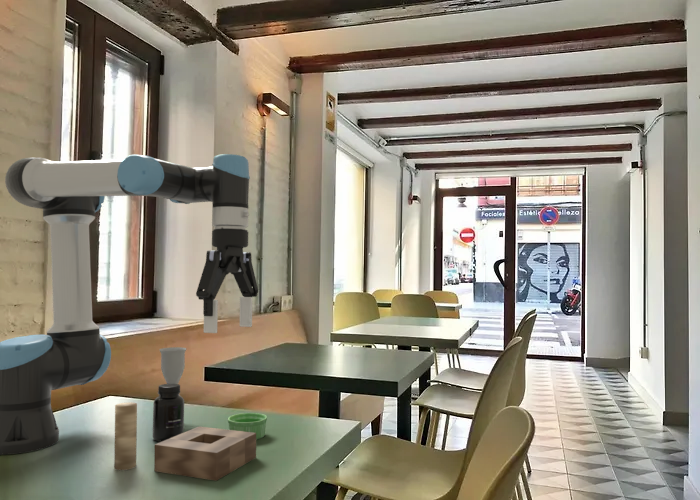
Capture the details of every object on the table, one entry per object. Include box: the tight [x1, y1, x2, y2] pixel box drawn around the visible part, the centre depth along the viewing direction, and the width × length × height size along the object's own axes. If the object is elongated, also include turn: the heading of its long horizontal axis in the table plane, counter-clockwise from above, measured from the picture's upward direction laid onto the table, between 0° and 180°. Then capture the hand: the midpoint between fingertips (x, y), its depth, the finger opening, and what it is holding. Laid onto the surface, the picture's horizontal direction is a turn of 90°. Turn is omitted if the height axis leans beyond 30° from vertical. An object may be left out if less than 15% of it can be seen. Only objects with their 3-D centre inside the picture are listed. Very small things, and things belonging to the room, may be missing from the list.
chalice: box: [159, 346, 187, 384], centre depth 150 cm, size 7×7×18 cm
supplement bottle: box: [152, 383, 185, 442], centre depth 133 cm, size 7×7×12 cm
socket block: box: [153, 426, 257, 482], centre depth 115 cm, size 14×14×5 cm
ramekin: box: [227, 412, 268, 441], centre depth 134 cm, size 9×9×4 cm
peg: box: [113, 402, 138, 471], centre depth 113 cm, size 4×4×12 cm
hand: (228, 329), depth 122 cm, fingers open, 13 cm apart
